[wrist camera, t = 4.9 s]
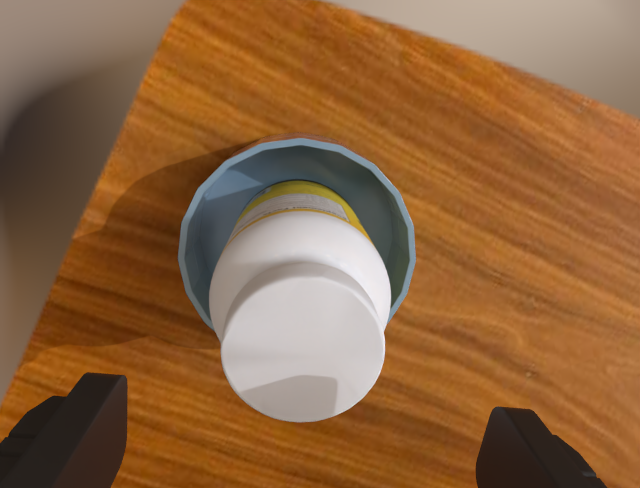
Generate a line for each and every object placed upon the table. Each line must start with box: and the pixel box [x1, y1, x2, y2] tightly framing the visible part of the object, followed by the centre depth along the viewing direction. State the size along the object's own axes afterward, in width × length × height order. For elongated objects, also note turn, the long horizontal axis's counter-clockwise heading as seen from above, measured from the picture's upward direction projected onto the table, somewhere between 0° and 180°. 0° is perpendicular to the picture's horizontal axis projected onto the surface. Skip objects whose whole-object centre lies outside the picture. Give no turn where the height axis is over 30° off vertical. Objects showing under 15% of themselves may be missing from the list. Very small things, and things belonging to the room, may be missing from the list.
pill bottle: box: [209, 179, 391, 422], centre depth 18 cm, size 6×6×12 cm
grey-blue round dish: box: [178, 132, 416, 331], centre depth 22 cm, size 11×11×4 cm
